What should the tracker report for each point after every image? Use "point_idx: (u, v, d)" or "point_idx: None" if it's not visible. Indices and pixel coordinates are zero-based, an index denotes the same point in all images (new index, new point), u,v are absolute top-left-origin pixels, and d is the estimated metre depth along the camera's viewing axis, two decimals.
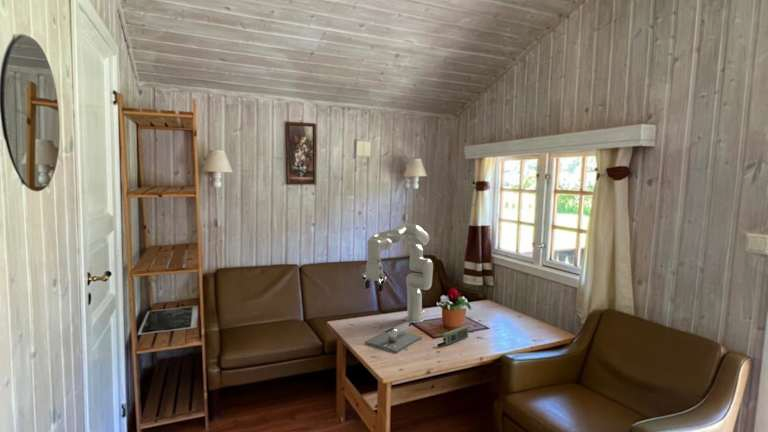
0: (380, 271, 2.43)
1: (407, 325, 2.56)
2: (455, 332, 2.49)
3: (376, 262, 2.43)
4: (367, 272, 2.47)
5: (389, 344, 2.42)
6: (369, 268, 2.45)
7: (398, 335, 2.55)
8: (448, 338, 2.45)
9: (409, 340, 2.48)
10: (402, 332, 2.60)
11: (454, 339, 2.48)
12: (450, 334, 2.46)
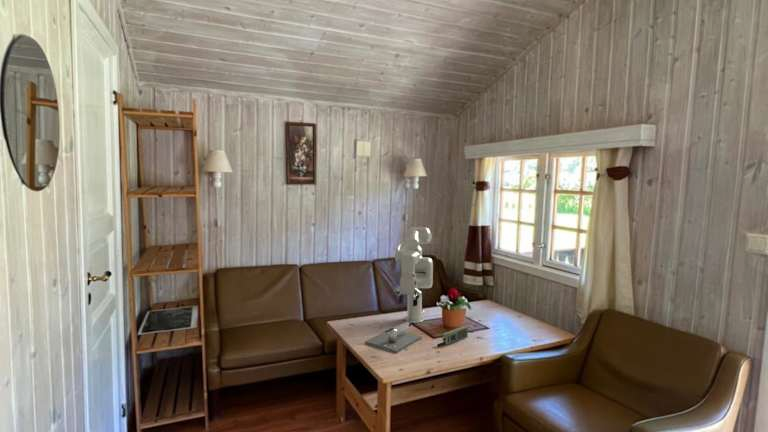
0: (415, 286, 2.42)
1: (407, 325, 2.56)
2: (455, 332, 2.49)
3: (411, 277, 2.41)
4: (401, 287, 2.45)
5: (389, 344, 2.42)
6: (403, 283, 2.44)
7: (398, 335, 2.55)
8: (448, 338, 2.45)
9: (409, 340, 2.48)
10: (402, 332, 2.60)
11: (454, 339, 2.48)
12: (450, 334, 2.46)
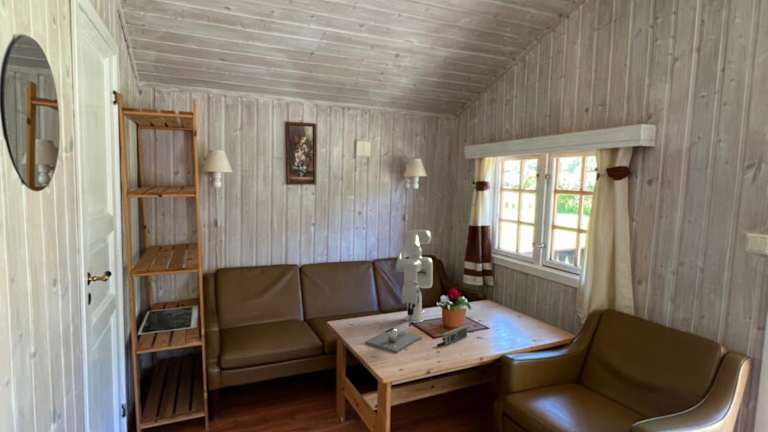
0: (417, 294, 2.42)
1: (407, 325, 2.56)
2: (454, 332, 2.49)
3: (413, 285, 2.41)
4: (404, 295, 2.45)
5: (389, 344, 2.42)
6: (406, 291, 2.44)
7: (398, 335, 2.55)
8: (448, 338, 2.46)
9: (409, 340, 2.48)
10: (402, 332, 2.60)
11: (453, 339, 2.49)
12: (450, 334, 2.46)
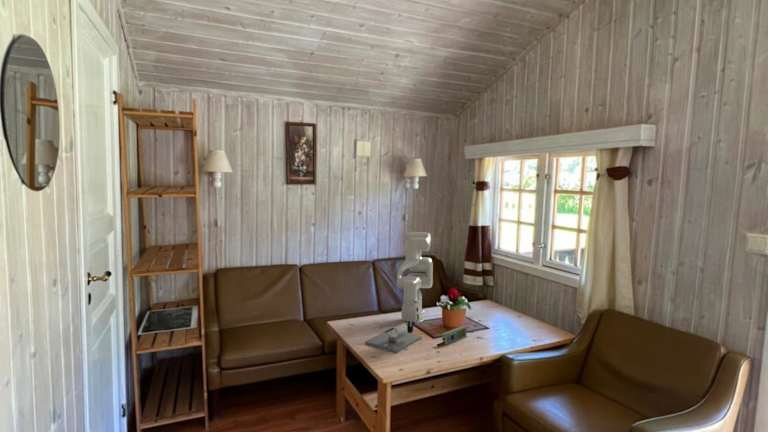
0: (417, 312, 2.44)
1: None
2: (454, 332, 2.49)
3: (413, 304, 2.43)
4: (403, 313, 2.47)
5: (389, 344, 2.42)
6: (405, 309, 2.45)
7: (398, 335, 2.55)
8: (447, 338, 2.46)
9: (409, 340, 2.48)
10: (402, 332, 2.60)
11: (453, 339, 2.49)
12: (449, 334, 2.47)
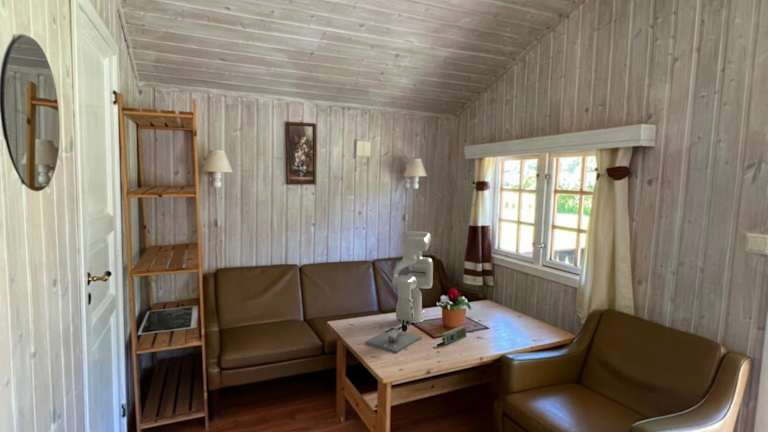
0: (411, 311, 2.46)
1: None
2: (454, 332, 2.50)
3: (407, 302, 2.45)
4: (398, 312, 2.49)
5: (389, 344, 2.42)
6: (400, 308, 2.48)
7: (398, 335, 2.55)
8: (447, 338, 2.46)
9: (409, 340, 2.48)
10: (402, 332, 2.60)
11: (453, 339, 2.49)
12: (449, 334, 2.47)
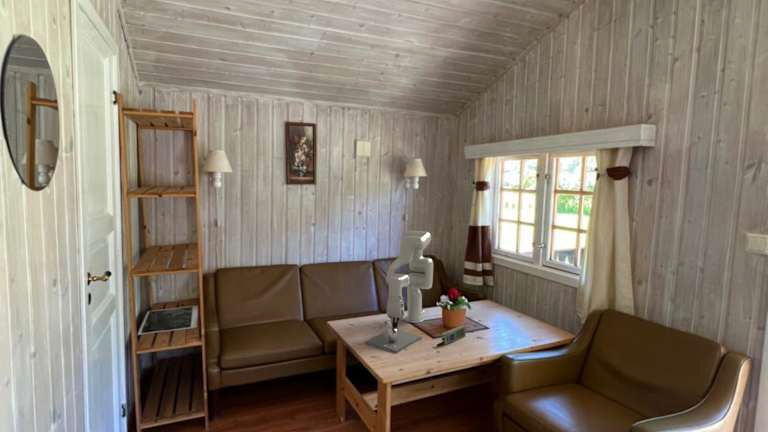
0: (401, 308, 2.49)
1: None
2: (453, 331, 2.50)
3: (398, 300, 2.49)
4: (388, 309, 2.53)
5: (389, 344, 2.42)
6: (390, 305, 2.51)
7: (398, 335, 2.55)
8: (447, 338, 2.46)
9: (409, 340, 2.48)
10: (402, 332, 2.60)
11: (453, 338, 2.49)
12: (449, 334, 2.47)
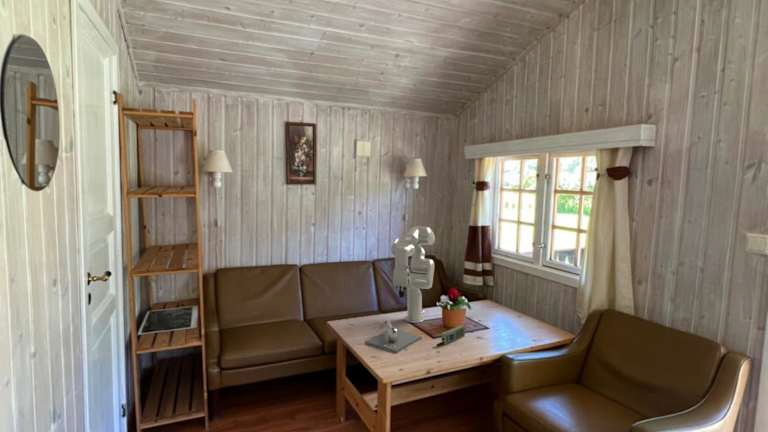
0: (408, 277, 2.51)
1: None
2: (453, 331, 2.50)
3: (404, 269, 2.50)
4: (395, 278, 2.54)
5: (389, 344, 2.42)
6: (397, 274, 2.53)
7: (398, 335, 2.55)
8: (447, 338, 2.46)
9: (409, 340, 2.48)
10: (402, 332, 2.60)
11: (452, 338, 2.49)
12: (448, 333, 2.47)
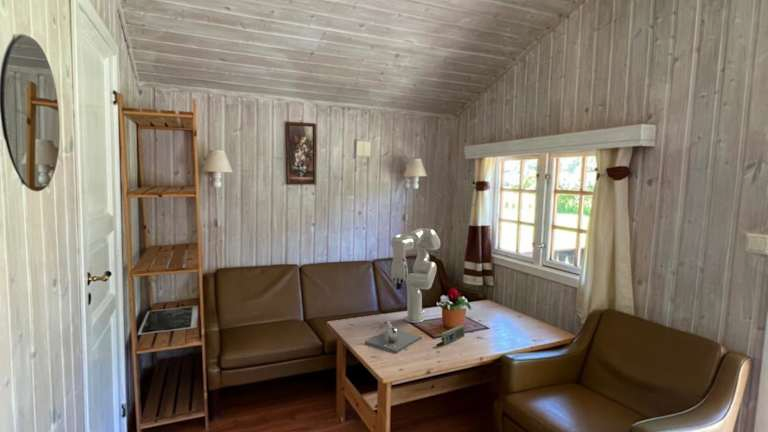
0: (405, 269, 2.58)
1: None
2: (453, 331, 2.50)
3: (401, 261, 2.57)
4: (392, 270, 2.61)
5: (389, 344, 2.42)
6: (395, 267, 2.60)
7: (398, 335, 2.55)
8: (446, 337, 2.46)
9: (409, 340, 2.48)
10: (402, 332, 2.60)
11: (452, 338, 2.50)
12: (448, 333, 2.47)
